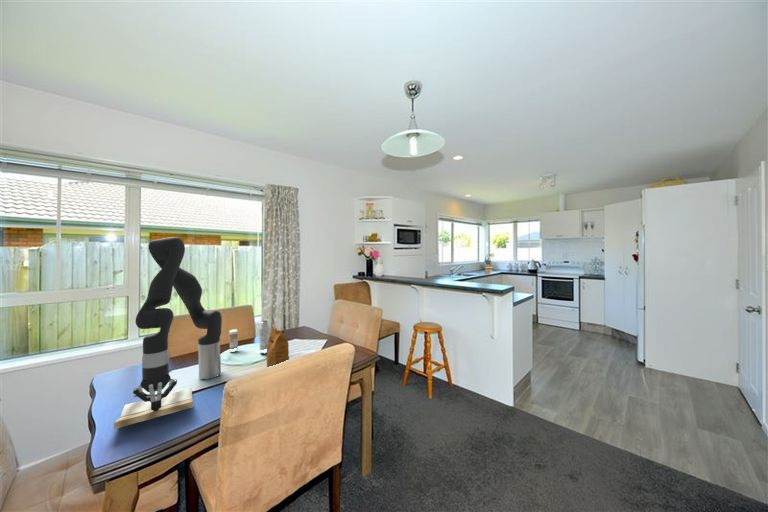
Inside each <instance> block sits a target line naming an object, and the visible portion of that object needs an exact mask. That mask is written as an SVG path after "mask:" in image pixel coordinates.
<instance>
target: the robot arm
mask: <svg viewBox="0 0 768 512" xmlns="http://www.w3.org/2000/svg"><path fill="white" fill-rule="evenodd" d="M148 250H149V251H148V252H149V254H150V255H151V257H152V259H153V260H154V261H155V262H156V264H157V266H159V267H160V270H159V271H158V272H157V274H156V275H155V276H154V277H153V278H152V280H151V282H150V284H149V289H148V293H147V296H146V299H145V301H144V302H143V305H142V306H141V307H140V309H139V310H138V312H137V314H136V316H135V325H136V327H137V328H138V329H140V330H149V329H151V330H152V329H159V331H158V332H155V333H151V334H148V335H146V336H144V337H143V339H142V357H141V371H142V372H141V373H142V374H141V375H142V376H141V377H142V378H141V382H140V385H138V386H137V387H135V388H133V391H132V394H133V395H135V396H136V397H137V398H139V399H140V400H141V401H144V402H147V401H150V402H151V410H154V411H158V410H159V409H160V408H161V399H162V398H164V397H166V396H167V395H168V394H171V392H172V391H173V389H174V388H175V386H176V385H177V384H178V380H177V379H176V378H175V379H174V378H171V375H170V373H169V372H170V369H169V368H170V366H169V364H170V362H169V361H170V358H169V357H170V356H169V346H168V344H169V343H168V341H169V339H168V338H169V333H170V329H171V327H172V324H173V323H172V322H173V321H174V312H173V310H172V309H171V308H168V307H162V308H161V306H166V305H168V304H169V303H170V301H171V299H172V293H173V288H174V290H175V291H176V293H177V295H178V296H179V298H180V299H181V301H182V302H183V304H184V306H185V308H186V310H187V311H188V312H187V313H189V317H190V318H191V320H192V321H191V322H192V323H193V325H194V327H196V328H197V329H200V330H206V334H203V335H202V336H200V337H198V339H197V340H198V342H197V344H198V345H197V346H198V350H197V351H198V352H197V353H198V379H199V378H200V380H202V379H206V380H210V379H209V378H212V379H214V378H213V377H215V376H217V375H219V376H221V375H222V364H221V363H222V360H221V357H222V356H221V339H220V338H221V335H222V323H223V322H222V321H223V319H222V314H221V312H220V311H218V310H212V309H211V310H209V309H207V310H206V309H205V308H204V306H203V305H202V303H201V298H202V294H203V289H202V288H203V287H202V286H201V284H200V283H199V281H198V279H197V277H196V276H195V275H193V274H192V273H191V272H189V271H187V270H186V269H184V268H182V267H181V263H182V261H183V259H184V256H185V252H186V246H185V243H184V241H183V240H182V239H181V238H180V237H178V236H171V237H170V236H169V237H164V238H157V239H153V240H151V241H149V243H148ZM158 307H160V308H158ZM220 374H221V375H220ZM217 377H218V376H217ZM215 378H216V377H215ZM167 385H168V387H167V388H166V389H165V387H166V386H167ZM164 389H165V390H164ZM143 390H144V391H146V392H147V393H149V395H148V394H147V393H145V392H144V391H143ZM162 390H164V391H162ZM156 392H157V393H156ZM156 397H157V399H156Z"/></svg>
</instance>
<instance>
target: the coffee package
mask: <svg viewBox="0 0 768 512" xmlns="http://www.w3.org/2000/svg"><path fill="white" fill-rule="evenodd" d="M284 333H285V331H284V330H281V329H278V328H277V327H276V326H273V327H272V330H271V331H270V337H269V340H268V346H267V354H265V355H266V368H267V367H269V366H273V365H276V364H279V363H281V362H284V361H286V360H289V361H290V356H289V350H290V349H289V346H290V345H289V341H288V339H287V338H286V337H285V335H284Z"/></svg>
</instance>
